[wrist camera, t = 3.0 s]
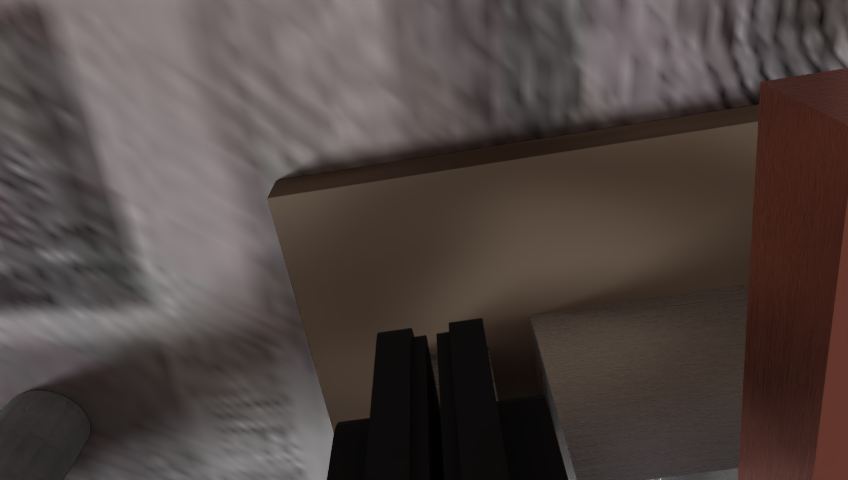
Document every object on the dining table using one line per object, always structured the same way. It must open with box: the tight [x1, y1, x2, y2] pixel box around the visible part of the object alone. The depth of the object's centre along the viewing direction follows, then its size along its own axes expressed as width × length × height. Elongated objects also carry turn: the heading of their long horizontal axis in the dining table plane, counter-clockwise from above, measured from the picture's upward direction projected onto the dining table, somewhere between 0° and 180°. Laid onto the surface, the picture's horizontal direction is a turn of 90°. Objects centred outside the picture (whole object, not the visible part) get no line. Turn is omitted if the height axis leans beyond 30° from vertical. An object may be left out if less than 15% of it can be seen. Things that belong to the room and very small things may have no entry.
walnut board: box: [267, 104, 759, 431], centre depth 24 cm, size 18×22×2 cm
